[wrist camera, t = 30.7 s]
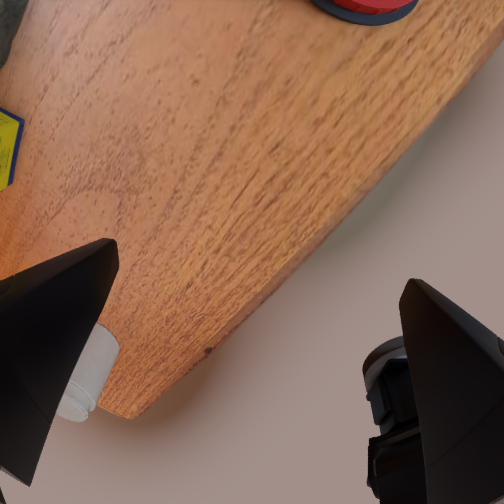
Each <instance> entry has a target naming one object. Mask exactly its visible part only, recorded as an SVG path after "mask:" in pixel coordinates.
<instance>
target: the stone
mask: <svg viewBox="0 0 504 504" xmlns="http://www.w3.org/2000/svg"><path fill="white" fill-rule="evenodd" d="M27 3H28V0H0V68H1V67H2V65H3V64H4V63H5V62H6V61H7V57H8V55H9V52H10V49H11V44H12V40H13V38H14V36H15V34H16V32H17V30H18V27H19V25H20V22H21V20H22V17H23V13H24V10H25V8H26V6H27Z"/></svg>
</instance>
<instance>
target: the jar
mask: <svg viewBox="0 0 504 504" xmlns="http://www.w3.org/2000/svg"><path fill="white" fill-rule="evenodd" d="M119 352H120V348H119V344H118V342H117V340H116V339H115V337H114V336H113V335H112V334H111V333H110V332H109V331H108V330H107V329H106V328H105V327H103V326H102V325H100V324H98V323H97V322H96V324H95V326H94V328H93V330H92V332H91V334H90V336H89V338H88V340H87V342H86V345H85V347H84V349H83V351H82V353H81V355H80V357H79V360H78V362H77V364H76V366H75V368H74V371H73V373H72V375H71V377H70V380H69V382H68V384H67V387H66V389H65V391H64V394H63V396H62V399H61V401H60V404H59V406H58V409H57V411H56V414H58V415H60V416H61V417H63V418H66V419H68V420H71V421H74V422H84V421H85V420H86V419H87V418H88V416H89V415H88V412H89V411H93V410H94V409H95V407H96V405H97V403H98V400H99V398H100V396H101V393H102V391H103V389H104V386H105V384H106V382H107V379H108V377H109V375H110V373H111V371H112V368H113V366H114V364H115V362H116V360H117V357H118V355H119Z"/></svg>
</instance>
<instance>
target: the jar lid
mask: <svg viewBox="0 0 504 504" xmlns="http://www.w3.org/2000/svg"><path fill="white" fill-rule="evenodd" d="M332 1H334V2H335V4H338V5H341V6H343V7H345V8H347V9H350V10H352V11H353V12H359V13H365V14H372V15H376V14H383V13H388V12H389V13H392V12H394V11H396V10H398V8H400V7H402V6H405V5H407V4H409V3H411V2H412V1H413V0H332Z"/></svg>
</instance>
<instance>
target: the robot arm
mask: <svg viewBox="0 0 504 504" xmlns="http://www.w3.org/2000/svg"><path fill="white" fill-rule="evenodd" d="M118 270H119V256H118V248H117V242H116V241H115V240H114V239H109V238H102V239H99V240H97V241H94V242H91V243H89V244H86V245H84V246H81V247H79V248H76V249H74V250H71V251H69V252H66V253H64V254H61V255H59V256H57V257H54V258H52V259H49V260H47V261H45V262H42V263H40V264H37V265H35V266H33V267H31V268H28V269H26V270H24V271H21V272H19V273H17V274H15V276H14V275H12V276H10V277H8V278H6V279H3V280H1V281H0V470H2V471H3V472H5V473H6V474H8V475H10V476H11V477H13V478H15V479H16V480H18V481H20V482H21V483H23V484H25V485H27V486H29V487H30V485H31V483H32V479H33V476H34V473H35V469H36V467H37V464H38V461H39V458H40V455H41V452H42V449H43V446H44V443H45V441H46V438H47V435H48V432H49V430H50V427H51V426H50V425H51V424H52V421H53V418H54V416H55V414H56V411H57V409H58V406H59V404H60V401H61V399H62V396H63V394H64V391H65V389H66V387H67V384H68V382H69V380H70V377H71V375H72V373H73V371H74V368H75V366H76V364H77V362H78V360H79V357H80V355H81V353H82V351H83V349H84V347H85V345H86V342H87V340H88V338H89V336H90V334H91V332H92V330H93V328H94V326H95V324H96V322H97V320H98V318H99V316H100V314H101V312H102V310H103V308H104V305H105V303H106V300H107V298H108V295H109V292H110V290H111V287H112V285H113V282H114V280H115V277H116V275H117V272H118ZM399 310H400V317H401V324H402V331H403V339H404V346H405V351H406V356H407V358H392V359H389V360H387V361H386V363H385V365H384V367H383V368H382V370H381V372H380V374H379V375H378V377H377V378H376V380H375V381H374V383H373V385H372V386H371V388H370V390H369V391H368V394H367V395H366V398H367V401H370V402H371V408H372V413H373V418H374V423H375V425H379V427H380V432H381V435H380V436H377V437H372V438H370V439H369V446H368V477H367V486H368V487H370V488H372V491H373V493H374V495H375V497H376V498H377V499H379V500H380V504H504V341H503V340H502V339H500V338H499V337H497V335H496V334H494V333H493V332H492V331H490V330H489V329H488V328H487V327H485V326H484V325H483V324H481V323H480V322H479V321H478V320H476V319H475V318H474V317H472V316H471V315H470V314H468V313H467V312H466V311H464V310H463V309H462V308H460V307H459V306H458V305H456V304H455V303H454V302H452V301H451V300H450V299H448V298H447V297H445V296H444V295H443V294H441V293H440V292H439V291H437V290H436V289H434V288H433V287H432V286H430V285H429V284H427V283H426V282H424V281H423V280H421V279H414V278H411V279H409V280H408V282H407V284H406V286H405V289H404V291H403V293H402V296H401V298H400V301H399ZM0 504H6V502H5V499H4V497H3V494H2V491H1V488H0Z"/></svg>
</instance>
